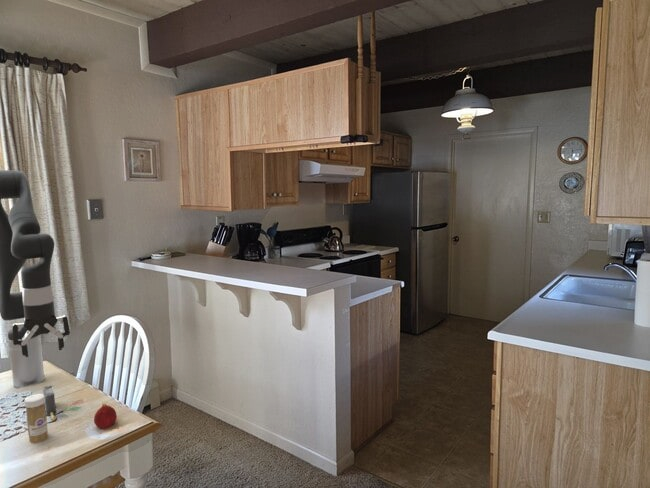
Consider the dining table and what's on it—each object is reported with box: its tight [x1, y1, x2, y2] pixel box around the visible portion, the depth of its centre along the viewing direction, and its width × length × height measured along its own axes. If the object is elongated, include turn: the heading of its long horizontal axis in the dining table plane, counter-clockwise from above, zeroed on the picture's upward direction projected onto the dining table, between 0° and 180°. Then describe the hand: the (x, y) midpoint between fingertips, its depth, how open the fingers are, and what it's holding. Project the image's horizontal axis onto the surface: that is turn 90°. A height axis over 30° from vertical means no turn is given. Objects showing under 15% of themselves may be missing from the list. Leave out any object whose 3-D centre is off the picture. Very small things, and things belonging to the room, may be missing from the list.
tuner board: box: [54, 398, 85, 420], centre depth 133 cm, size 16×15×2 cm
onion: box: [93, 402, 118, 430], centre depth 124 cm, size 6×6×8 cm
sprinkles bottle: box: [24, 393, 49, 444], centre depth 117 cm, size 5×5×13 cm
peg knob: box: [42, 385, 57, 421], centre depth 131 cm, size 13×2×6 cm, turn 37°
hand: (43, 352), depth 130 cm, fingers open, 8 cm apart
